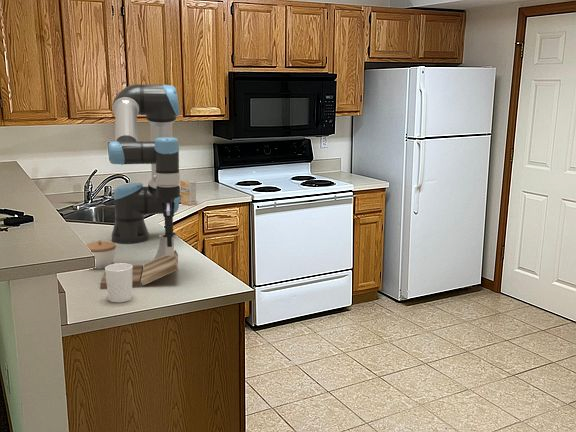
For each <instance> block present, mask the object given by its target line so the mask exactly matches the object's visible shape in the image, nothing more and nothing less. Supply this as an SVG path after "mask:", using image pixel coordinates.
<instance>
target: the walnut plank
mask: <svg viewBox="0 0 576 432" xmlns="http://www.w3.org/2000/svg"><path fill="white" fill-rule="evenodd" d="M131 265H132V266H133V280H132V289H133V288H140V287H141V284H142V282H141V276H142V272H143V267H144V264H134V265H133V264H131ZM99 286H100V287H99V288H100V289H101V290H105V289H106V290H107V283H106V273H105V272H104V274H103V276H102V277H101V280H100V282H99Z"/></svg>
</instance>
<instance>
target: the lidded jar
mask: <svg viewBox="0 0 576 432" xmlns="http://www.w3.org/2000/svg"><path fill="white" fill-rule="evenodd" d="M85 245H86V246H87V247H88V248H89V249H90V250H91V252H92V253H93V254H94V256H95V259H96V268H97V269H98V270H101V269H102V268H103V269H105V267H106V266H108V265H111V264H114V261H115V260H116V256H117V255H116V252H117V251H116V249H117V245H116V242H113V241H112V242H111V241H103V240H98V241H95V242H89V243H86V244H85ZM97 269H96V270H97Z"/></svg>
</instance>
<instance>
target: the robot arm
mask: <svg viewBox="0 0 576 432" xmlns="http://www.w3.org/2000/svg"><path fill="white" fill-rule="evenodd" d="M179 103H180V102H179V98H178V92H177V89H176V87H175V86H174V85H172V84H140V83H137V84H131V85H129V86H126V87H124V88H123V89H121V90H120V91H119V92H118V93H117V94H116V96H115V97H114V99H113V101H112V112H113V114H114V117H115V120H114V121H115V123H114V124H115V129H114V137H115V139H114V141H109V143H108V159H109V163H110V164H111V165H121V166H123V165H150V168H151V179H150V180H149V181H148V182H147V186H144V184H143V183H142V182H131V183H124V184H121V185H118V186H116V187H115V188H114V190H113V200H114V225H113V229H112V232H111V241H112V242H113V243H119V244H137V243H138V244H139V243H142V242H145V241H148V240H149V238H150V236H149V235H150V233H149V230H148V228H147V226H146V225H147V224H146V222H145V215H159V214H161V215H163V218H164V234H165V235H163V234H162V235H163V237H165V249H166V256H174V250H175V242H174V241H175V240H174V239H175V238H174V237H175V236H176V232H174V219H173V217H174V216H175V213H177V212H178V210H179V207H180V203H181V193H180V181H181V179H180V155H179V154H180V146H179V140H178V138H177V137H174V136H173V124H174V123H175V122H176V120H177V117H178V116H180V115H181V112H180V104H179ZM138 116H145V120H146V121H147V122H148V123H149V126H150V127H149V128H150V129H149V130H150V141H149V140H148V141H139V139H138V137H139V136H138Z"/></svg>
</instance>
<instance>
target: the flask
mask: <svg viewBox="0 0 576 432" xmlns="http://www.w3.org/2000/svg"><path fill="white" fill-rule="evenodd" d="M163 235H165V233H164V234H159V235H158V238H159V245H158V249H157V251H156V254H155V257H154V259H153V260H155V259H157V258H159V257H161V256H163V255H166V249H165V237H163Z"/></svg>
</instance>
